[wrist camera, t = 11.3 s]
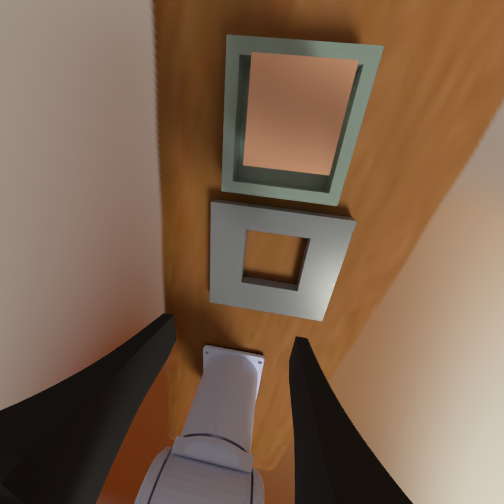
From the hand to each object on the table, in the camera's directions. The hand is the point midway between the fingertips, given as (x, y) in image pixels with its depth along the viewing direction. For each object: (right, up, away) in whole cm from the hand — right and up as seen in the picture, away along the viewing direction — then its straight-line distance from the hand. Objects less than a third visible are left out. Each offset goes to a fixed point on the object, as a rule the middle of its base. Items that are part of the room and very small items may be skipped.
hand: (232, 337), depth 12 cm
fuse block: (+4, +14, +3) cm, 14 cm away
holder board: (+3, +5, +8) cm, 10 cm away
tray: (+4, +14, +3) cm, 15 cm away
